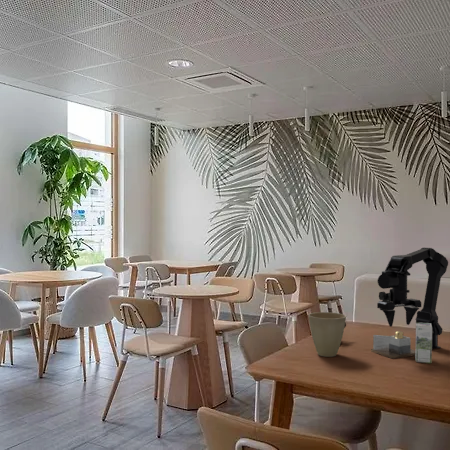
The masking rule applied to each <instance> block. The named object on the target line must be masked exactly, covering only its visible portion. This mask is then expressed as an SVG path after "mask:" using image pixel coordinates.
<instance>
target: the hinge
mask: <svg viewBox="0 0 450 450" xmlns="http://www.w3.org/2000/svg"><path fill="white" fill-rule="evenodd" d="M372 341H373V344H372V345H373V346H372V347H373V348H372V349H371V350H370V351H371V353H375V354H377V355H381V356H383V357H386V358H389V359H392V360H393V359H398V358H399V359H400V358H406V357H413V356H414V357H415V352H416V349H412V347H411V343H412V341H411V337H410V336H405V335H403V338H400V339H399V338H396V337H395V335H394V334H393V335H379V334H378V335H377V334H373V340H372Z"/></svg>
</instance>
